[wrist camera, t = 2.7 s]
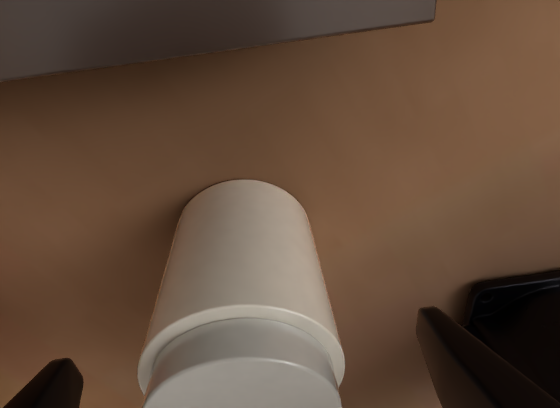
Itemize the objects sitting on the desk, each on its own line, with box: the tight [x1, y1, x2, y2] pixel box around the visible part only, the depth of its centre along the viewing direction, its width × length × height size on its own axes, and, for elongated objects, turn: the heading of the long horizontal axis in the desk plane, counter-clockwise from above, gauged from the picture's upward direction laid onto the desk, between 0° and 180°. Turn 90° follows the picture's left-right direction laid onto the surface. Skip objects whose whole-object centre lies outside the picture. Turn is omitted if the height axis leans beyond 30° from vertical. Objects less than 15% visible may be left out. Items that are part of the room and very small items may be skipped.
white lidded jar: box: [137, 179, 345, 408], centre depth 10 cm, size 5×5×6 cm
